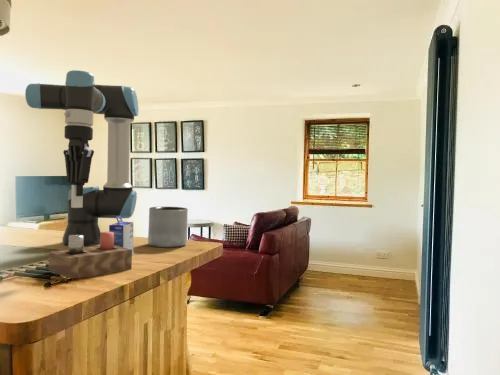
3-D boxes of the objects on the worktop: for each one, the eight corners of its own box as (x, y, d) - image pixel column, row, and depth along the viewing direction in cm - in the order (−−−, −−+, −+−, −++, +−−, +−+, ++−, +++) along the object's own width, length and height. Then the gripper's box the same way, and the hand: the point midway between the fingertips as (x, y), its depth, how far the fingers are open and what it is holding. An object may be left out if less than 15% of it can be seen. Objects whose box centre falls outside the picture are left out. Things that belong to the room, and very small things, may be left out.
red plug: (97, 250, 126) (97, 232, 126) (108, 248, 129) (109, 231, 129) (104, 252, 124) (104, 234, 123) (116, 250, 127) (116, 232, 127)
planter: (140, 243, 172) (142, 207, 171) (173, 240, 182) (174, 206, 182) (160, 249, 160) (161, 210, 159) (194, 246, 171) (195, 209, 170)
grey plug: (65, 254, 118) (66, 235, 118) (78, 252, 121) (79, 234, 121) (72, 256, 116) (73, 237, 116) (85, 254, 119) (86, 235, 119)
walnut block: (69, 280, 111) (69, 258, 111) (48, 272, 119) (48, 251, 118) (131, 268, 127) (132, 249, 127) (109, 262, 134) (110, 244, 134)
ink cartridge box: (118, 254, 147) (120, 214, 147) (133, 255, 147) (135, 215, 147) (107, 260, 137) (108, 217, 137) (123, 261, 137) (124, 218, 137)
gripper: (55, 125, 119) (53, 206, 119) (78, 123, 111) (75, 209, 111) (79, 128, 125) (77, 205, 125) (103, 126, 116) (100, 208, 117)
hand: (76, 207), depth 118 cm, fingers closed
